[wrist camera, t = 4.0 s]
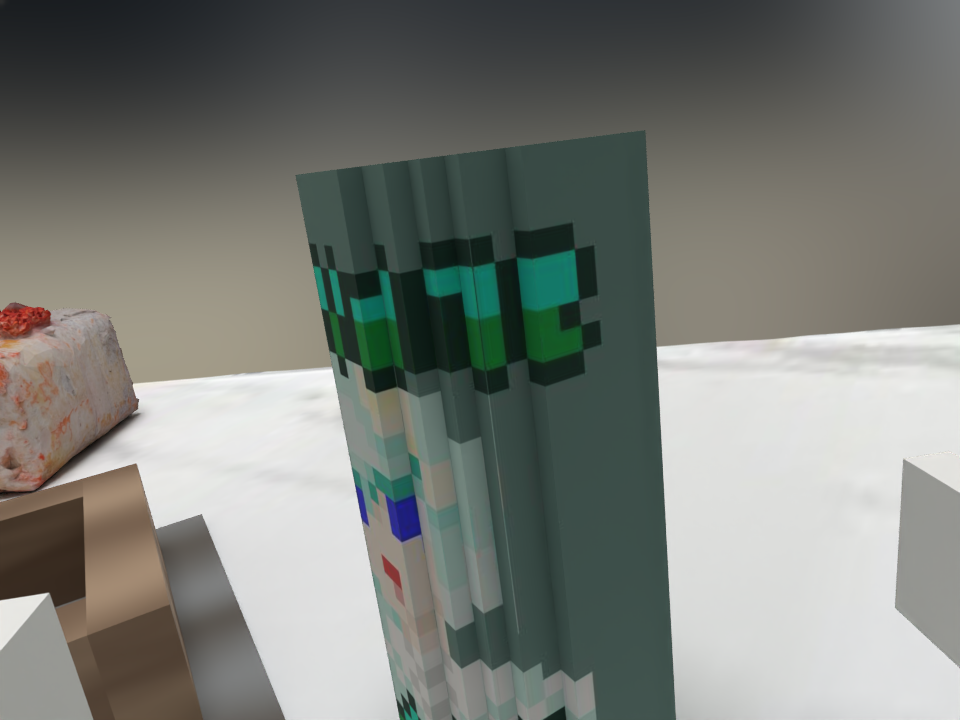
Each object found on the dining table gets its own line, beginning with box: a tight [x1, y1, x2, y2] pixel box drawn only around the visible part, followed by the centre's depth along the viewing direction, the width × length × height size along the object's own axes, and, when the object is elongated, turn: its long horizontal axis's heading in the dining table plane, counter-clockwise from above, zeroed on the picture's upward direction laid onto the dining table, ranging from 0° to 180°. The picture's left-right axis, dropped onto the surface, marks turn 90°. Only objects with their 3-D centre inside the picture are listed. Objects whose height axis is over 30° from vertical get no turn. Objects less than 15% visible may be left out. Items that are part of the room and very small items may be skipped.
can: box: [296, 130, 676, 720], centre depth 15 cm, size 6×6×15 cm
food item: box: [0, 303, 139, 493], centre depth 43 cm, size 14×8×10 cm, turn 1°
